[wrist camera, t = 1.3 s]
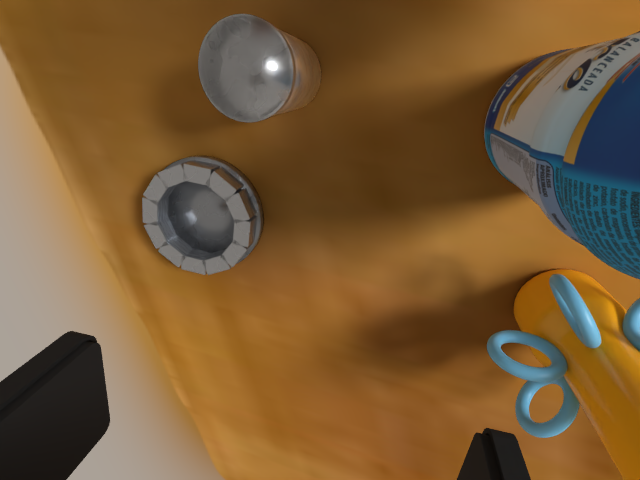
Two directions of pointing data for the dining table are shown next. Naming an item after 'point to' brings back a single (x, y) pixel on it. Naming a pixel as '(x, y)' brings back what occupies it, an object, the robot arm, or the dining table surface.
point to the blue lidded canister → (577, 144)
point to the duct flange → (202, 214)
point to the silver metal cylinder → (256, 69)
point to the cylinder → (579, 360)
